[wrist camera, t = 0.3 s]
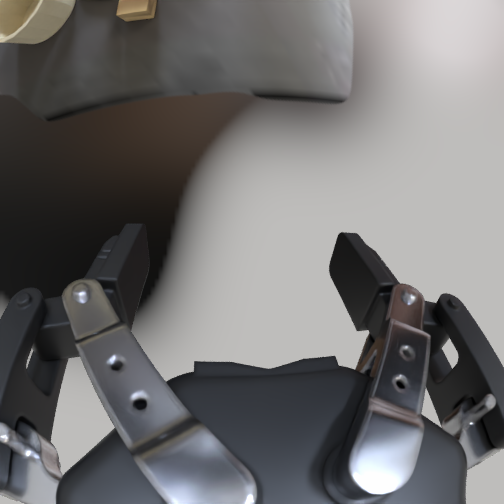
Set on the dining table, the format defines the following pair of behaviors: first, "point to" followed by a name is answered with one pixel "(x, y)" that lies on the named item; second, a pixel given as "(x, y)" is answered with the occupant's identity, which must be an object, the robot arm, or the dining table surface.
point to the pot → (32, 19)
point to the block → (136, 9)
